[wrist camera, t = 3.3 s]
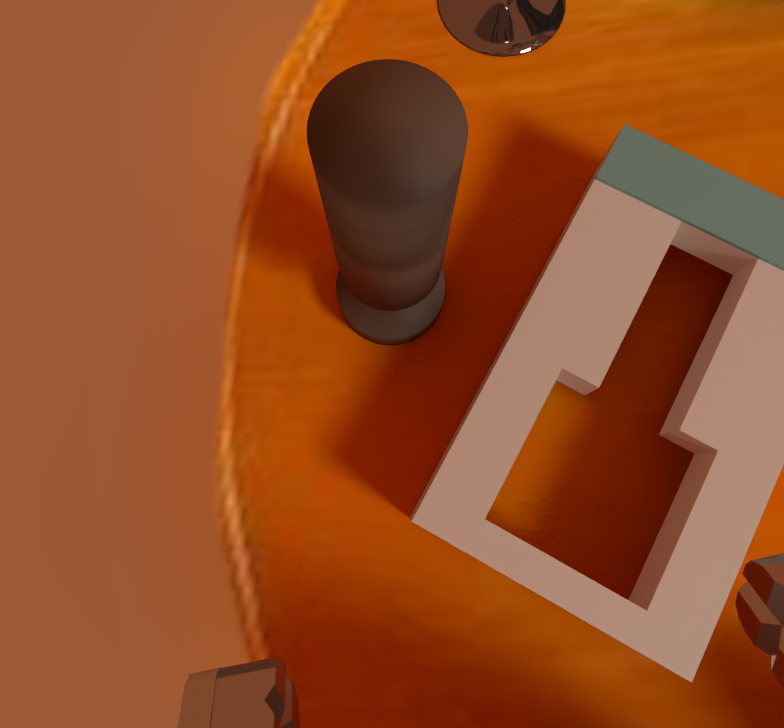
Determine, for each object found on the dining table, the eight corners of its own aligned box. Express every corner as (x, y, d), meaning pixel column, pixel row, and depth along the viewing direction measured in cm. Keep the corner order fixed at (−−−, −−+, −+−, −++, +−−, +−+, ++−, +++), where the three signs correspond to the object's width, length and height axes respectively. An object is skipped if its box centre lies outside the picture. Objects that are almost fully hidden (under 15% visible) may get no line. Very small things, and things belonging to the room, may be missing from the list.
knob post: (371, 228, 31) (352, 18, 17) (461, 275, 30) (515, 96, 17) (319, 313, 30) (256, 163, 16) (411, 364, 29) (425, 251, 16)
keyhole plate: (594, 171, 32) (624, 123, 27) (813, 278, 30) (878, 244, 26) (409, 517, 28) (411, 521, 24) (648, 655, 27) (694, 684, 23)
